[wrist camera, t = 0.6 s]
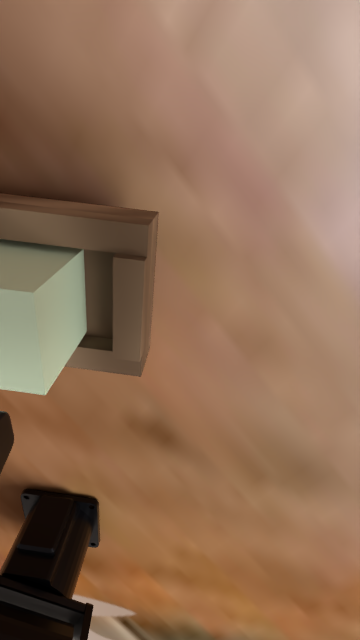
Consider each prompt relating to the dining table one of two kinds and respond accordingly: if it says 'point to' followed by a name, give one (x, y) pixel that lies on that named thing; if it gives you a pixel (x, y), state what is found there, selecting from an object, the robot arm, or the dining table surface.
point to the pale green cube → (39, 313)
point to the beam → (98, 272)
